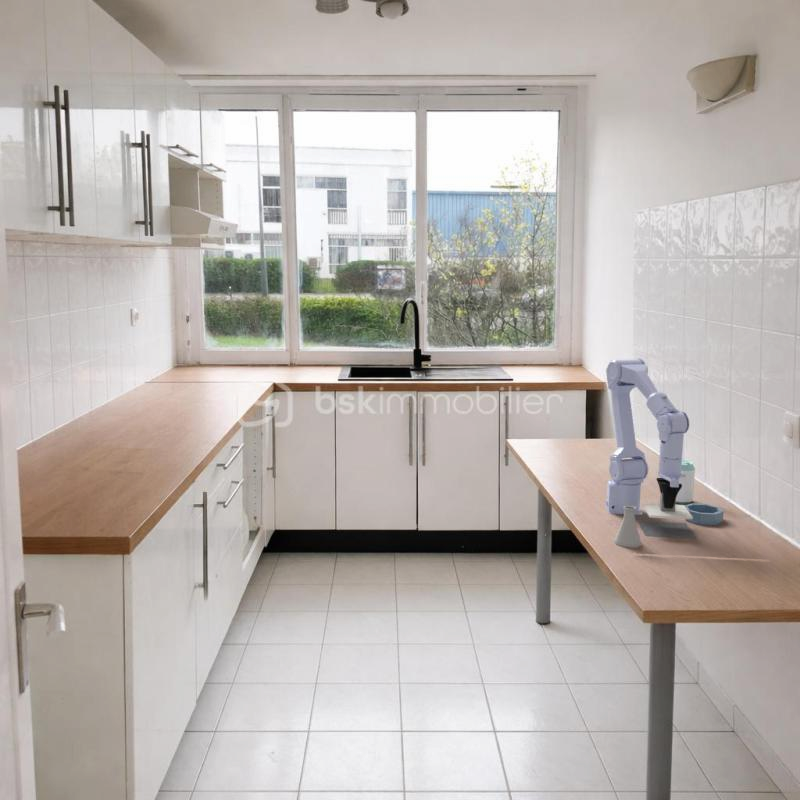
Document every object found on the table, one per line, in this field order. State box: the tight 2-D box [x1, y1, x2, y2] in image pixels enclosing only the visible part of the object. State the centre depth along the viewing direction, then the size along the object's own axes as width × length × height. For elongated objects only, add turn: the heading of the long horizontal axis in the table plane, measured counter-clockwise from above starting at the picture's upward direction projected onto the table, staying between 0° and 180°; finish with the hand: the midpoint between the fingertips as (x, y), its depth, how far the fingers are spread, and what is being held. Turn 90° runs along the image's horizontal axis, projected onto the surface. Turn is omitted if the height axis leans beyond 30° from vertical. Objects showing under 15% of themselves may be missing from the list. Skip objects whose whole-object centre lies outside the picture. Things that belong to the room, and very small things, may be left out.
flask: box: [613, 506, 643, 548], centre depth 228 cm, size 7×7×10 cm
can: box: [676, 459, 696, 505], centre depth 269 cm, size 7×7×12 cm
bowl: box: [684, 502, 724, 526], centre depth 250 cm, size 10×10×4 cm
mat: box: [637, 520, 697, 539], centre depth 240 cm, size 13×13×1 cm
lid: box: [642, 492, 693, 520], centre depth 239 cm, size 11×11×5 cm
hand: (667, 506), depth 239 cm, fingers closed on lid, 2 cm apart
